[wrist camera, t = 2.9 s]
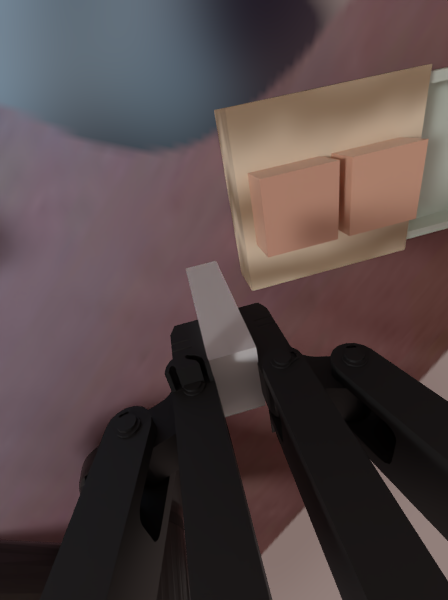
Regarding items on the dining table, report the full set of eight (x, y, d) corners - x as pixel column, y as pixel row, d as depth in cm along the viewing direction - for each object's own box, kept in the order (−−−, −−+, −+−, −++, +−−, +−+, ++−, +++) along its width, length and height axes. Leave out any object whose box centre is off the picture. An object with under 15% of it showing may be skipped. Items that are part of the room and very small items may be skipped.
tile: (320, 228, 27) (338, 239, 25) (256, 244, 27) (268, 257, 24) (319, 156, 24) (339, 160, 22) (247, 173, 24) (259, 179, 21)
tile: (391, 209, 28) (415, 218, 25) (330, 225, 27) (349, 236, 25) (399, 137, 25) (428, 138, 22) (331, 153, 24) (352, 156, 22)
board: (378, 236, 34) (404, 249, 31) (241, 273, 32) (252, 290, 29) (395, 71, 26) (432, 63, 23) (214, 110, 25) (224, 108, 21)
